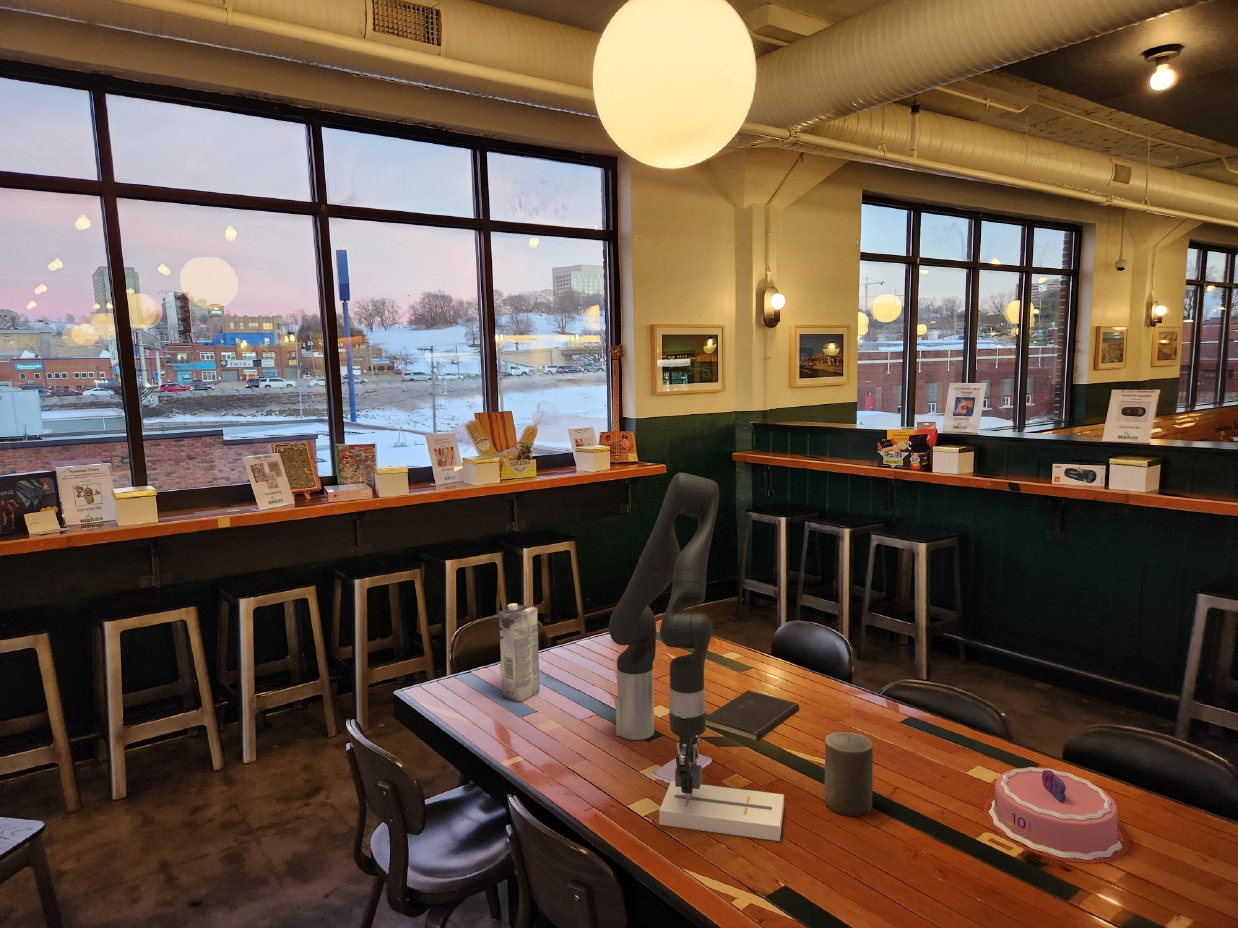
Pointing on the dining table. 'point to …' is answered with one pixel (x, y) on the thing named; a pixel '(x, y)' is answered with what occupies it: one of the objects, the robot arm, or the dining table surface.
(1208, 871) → the dining table surface
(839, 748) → the pillar candle
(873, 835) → the dining table surface
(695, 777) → the fader
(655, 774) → the mobile phone
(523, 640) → the juice carton
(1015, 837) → the cake
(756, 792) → the dimmer panel
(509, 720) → the dining table surface
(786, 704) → the hardcover book
